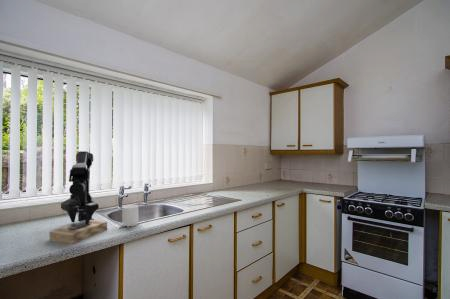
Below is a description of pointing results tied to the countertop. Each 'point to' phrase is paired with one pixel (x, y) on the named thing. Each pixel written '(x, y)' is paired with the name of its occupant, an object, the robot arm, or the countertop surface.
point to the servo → (78, 225)
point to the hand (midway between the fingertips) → (79, 223)
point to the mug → (130, 215)
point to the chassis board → (77, 232)
